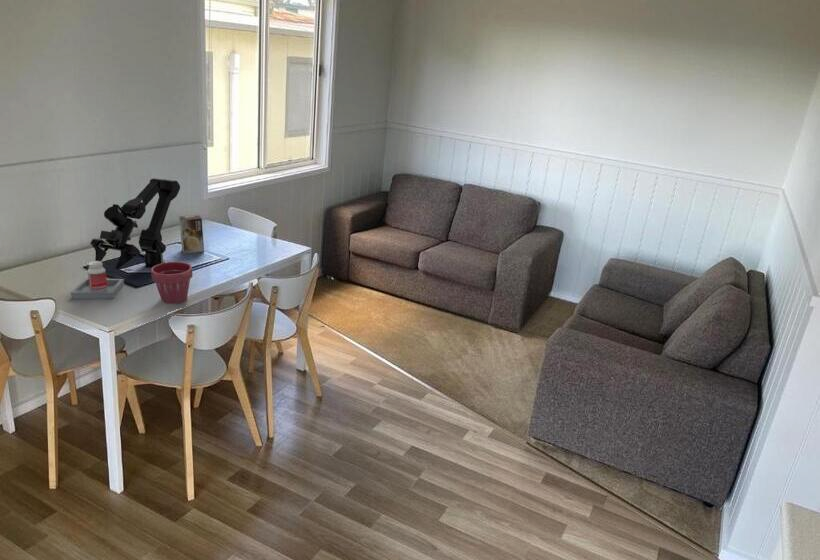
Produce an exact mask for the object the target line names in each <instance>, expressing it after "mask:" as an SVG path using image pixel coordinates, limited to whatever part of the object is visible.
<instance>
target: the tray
mask: <svg viewBox="0 0 820 560" xmlns="http://www.w3.org/2000/svg"><path fill="white" fill-rule="evenodd" d="M107 286H108V289H107V290H106V291H104V292H98V291H90V287H89V280H88V278H84V279H82V280H81V281H80V283H78V285H77V286H76V287H75V288H74V289H73V290H71V292H70V296H71V299H74V300H75V299H76V300H114V299H115V297H116V296H117V295H118V294H119V292H120V291H121V290H122V288H124V286H125V279H124V278H107Z"/></svg>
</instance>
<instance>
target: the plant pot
mask: <svg viewBox="0 0 820 560" xmlns="http://www.w3.org/2000/svg"><path fill="white" fill-rule="evenodd" d="M150 271H151V274H150V275H151V279H152V281H153V282H155V285H156V288H157V291H158V294H159V296H160V301H161V302H163V303H164V304H170V305H171V304H173V305H174V304H181V303H183V302H186V301H187V300H188V293H189V288H190V282H191V279H192V278H193V267H192V265H191V264H190V263H187V262H183V261H168V262H164V263H161V264H158V265H156V266H154V267H151V269H150Z"/></svg>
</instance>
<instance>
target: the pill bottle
mask: <svg viewBox="0 0 820 560" xmlns="http://www.w3.org/2000/svg"><path fill="white" fill-rule="evenodd" d="M103 265H104V264H103V261H95V260H94V261H90V262H88V269H87V279H88V280H89V287H90V291H98V292H104V291H106V290H107V289H108V286H107V279H108V278H107V271H106V268H105V267H104V266H103Z"/></svg>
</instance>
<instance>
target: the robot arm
mask: <svg viewBox="0 0 820 560" xmlns="http://www.w3.org/2000/svg"><path fill="white" fill-rule="evenodd" d="M180 190H181V185H180V182H178V181H177V180H173V179H165V178H162V179H161V178H150V180H149V183H148V184H147V185H146V186H145V187H144V188H143V189H142V190H141V191H140V193H138V194H137V196H136V197H134V198H133V199H129V200H127V202H125V203H124V204H123V205H122V206H120V205H119V204H114V203H113V204H112V206H109V207H108V208H106V209H105V210H104V211H103V216H104V218H105V219H107V221H109V222H110V223H111V224H112V225H113V226H115V229H112V230H110V231H106V230H101V231H100V235H99V238H92V239H91V241H90V243H89V244H90V245H91V246H92V248H93V249H94V251H95V260H94V261H101V262H103V259H104V258H105V256H106V255H107V253H108V252H107V251H109V250H113V251H120V256H119V258H118V260H117V263H116V265H115V270H118V269H120V268H121V267H123V266H124V265H125V264H126V263H128V262H130V261H131V260H133V259H135V258H139V256H140V253H141V252H145V253H144V257H143V258H144V265H145V266H146V267H145V268H153V267H154V266H156V265H158V264H161V263H165V261H164V257H163V255H164V253H165V252H166V250H167V246H166V245H165V244H164V243H163V242H162V241H163V237H162V233H161V232H162V231H161V230H162V228H163V225H164V222H165V219H166V215H167V213H168V212H169V208H170V205H171V202H172V201H173V200H174V199H175V198H177V196H178V194H179V192H180ZM157 194H158V199H157V202H156V205H155V208H154V211H153V213H152V216H151V218H150V222H149V224H148V228H146V229H141V231H140V235H139V237H138V245H139V247H140V249H139V248H138V247H136V246H135V245H134V244H133V243H132V244H130V243H128V241H129V242H130V241H131V239H132V238H131V237H130V236H131V234H132V232H133V229H134V228H135V229H138V228H139V225H138V223H137V221H136V220H140V219H142V217H143V216H144V214H145V213H146V211H147V210H146V208H147V205H148V204H149V203H150V202H151V201H152V200H153V199H154V197H156V195H157ZM133 219H135V220H133ZM104 240H105V241H104ZM140 250H141V251H140ZM163 261H164V262H163Z"/></svg>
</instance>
